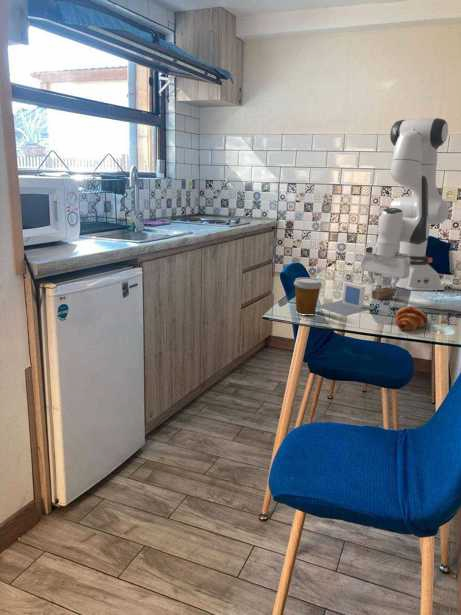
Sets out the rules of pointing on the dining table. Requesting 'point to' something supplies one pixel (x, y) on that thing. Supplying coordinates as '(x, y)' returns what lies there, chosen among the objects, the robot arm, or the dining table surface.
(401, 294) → the dining table surface
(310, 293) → the disposable coffee cup
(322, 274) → the dining table surface
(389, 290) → the wooden handled scraper
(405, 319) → the croissant
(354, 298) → the tile
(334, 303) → the slate board
